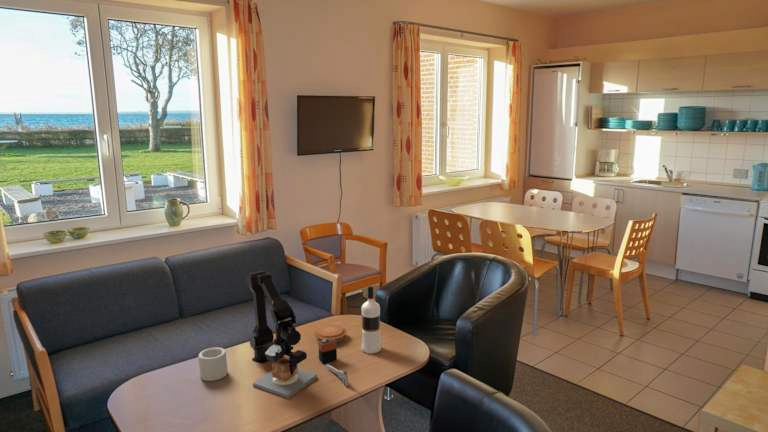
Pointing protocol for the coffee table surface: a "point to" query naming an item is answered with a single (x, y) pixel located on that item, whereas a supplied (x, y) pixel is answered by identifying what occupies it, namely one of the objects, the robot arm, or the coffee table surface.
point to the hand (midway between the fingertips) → (285, 372)
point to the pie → (330, 333)
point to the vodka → (371, 325)
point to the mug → (212, 364)
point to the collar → (282, 369)
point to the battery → (327, 350)
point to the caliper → (339, 374)
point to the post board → (285, 383)
